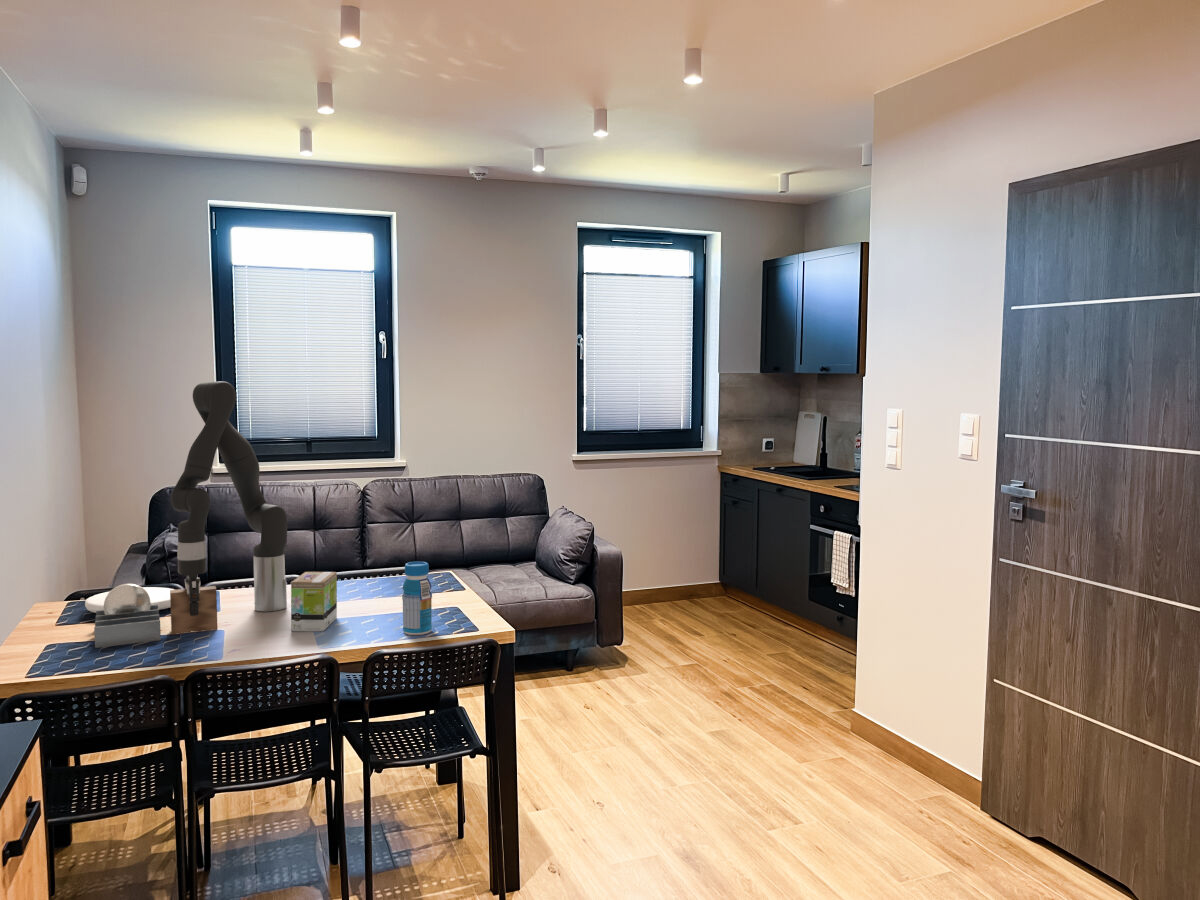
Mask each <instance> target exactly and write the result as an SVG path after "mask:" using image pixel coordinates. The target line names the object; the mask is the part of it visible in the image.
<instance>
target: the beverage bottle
mask: <svg viewBox="0 0 1200 900" xmlns="http://www.w3.org/2000/svg"><path fill="white" fill-rule="evenodd" d="M429 568H430V566H429V563H428V562H427V561H409V562H407V563H405V565H404V576H405V577H406V578H405V579H404V581H403V584H402V588H401V589H402V590H403V592H402V595H401V599H402V624H403V625H402V631H403V634H405V635H409V636H422V635H426V634H429V633H431V632H432V630H433V626H432V617H433V616H432V608H433V607H432V606H433V605H432V599H433V595H432V594H433V593H432V591H431V590H432V582H431V581H430V579H429V578H428V577H427V576H428V575H429V573H430V572H429V571H430V570H429Z"/></svg>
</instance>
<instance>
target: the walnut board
mask: <svg viewBox="0 0 1200 900" xmlns="http://www.w3.org/2000/svg"><path fill="white" fill-rule="evenodd" d="M191 597H192V598H195V597H197V596H191ZM199 598H200V600H199V602H198V612H199V614H198V615H196V616H191V615H190V603H189V596H187V589H186V588H178V589H174V590H170V605H171V607H170V628H171V631H172V632H171V631H170V632H171V635H177V634H176V633H181V634H185V633H184V632H189V633H192V632H191V631H198V632H203V631H202V630H207V631H212V630H211V629H215V630H218V605H217V604H218V602H217V600H218V599H217V598H218V597H217V587H216V585H211V586H210V585H209V586H200V595H199Z"/></svg>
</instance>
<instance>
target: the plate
mask: <svg viewBox="0 0 1200 900" xmlns="http://www.w3.org/2000/svg"><path fill="white" fill-rule="evenodd" d="M141 587H142V586H141ZM142 588H144V589H145V590H146V591H147V593H148V594H149V597H150V602H151V605H158V609H159V611H160V610H165V609H166V610H167V609H169V608H170V609H171V605H170V590H175V589H174V588H169V587H159V586H158V587H155V586H154V587H151V586H149V587H148V586H147V587H144V586H143V587H142ZM109 592H110V591H105V592H102V593H98V594H94V595H93V596H90V597H88V598H86V600H85V603H84V606H85V608H86V610H87V611H89V612H92V613H95V614H96V611H98V610H104V601H105V598H106V596H107V595H108V593H109Z"/></svg>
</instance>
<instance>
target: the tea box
mask: <svg viewBox="0 0 1200 900" xmlns="http://www.w3.org/2000/svg"><path fill="white" fill-rule="evenodd" d="M337 580H338V576H337V572H336V571H304V572H303V573H302V574H300V575H299V576H297V577H296V578H294V580H292V581H291V583H290V586H291V587H290V598H291V599H290V631H291V632H325V630H326V629H327V628H328V627H329V626H330V625H331V624H332V623H333V622H334V621H335V620H336V619H337V618H338V615H337V614H338V609H337V606H338V599H337V597H338V595H337V593H338V589H337V588H338V581H337Z"/></svg>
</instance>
